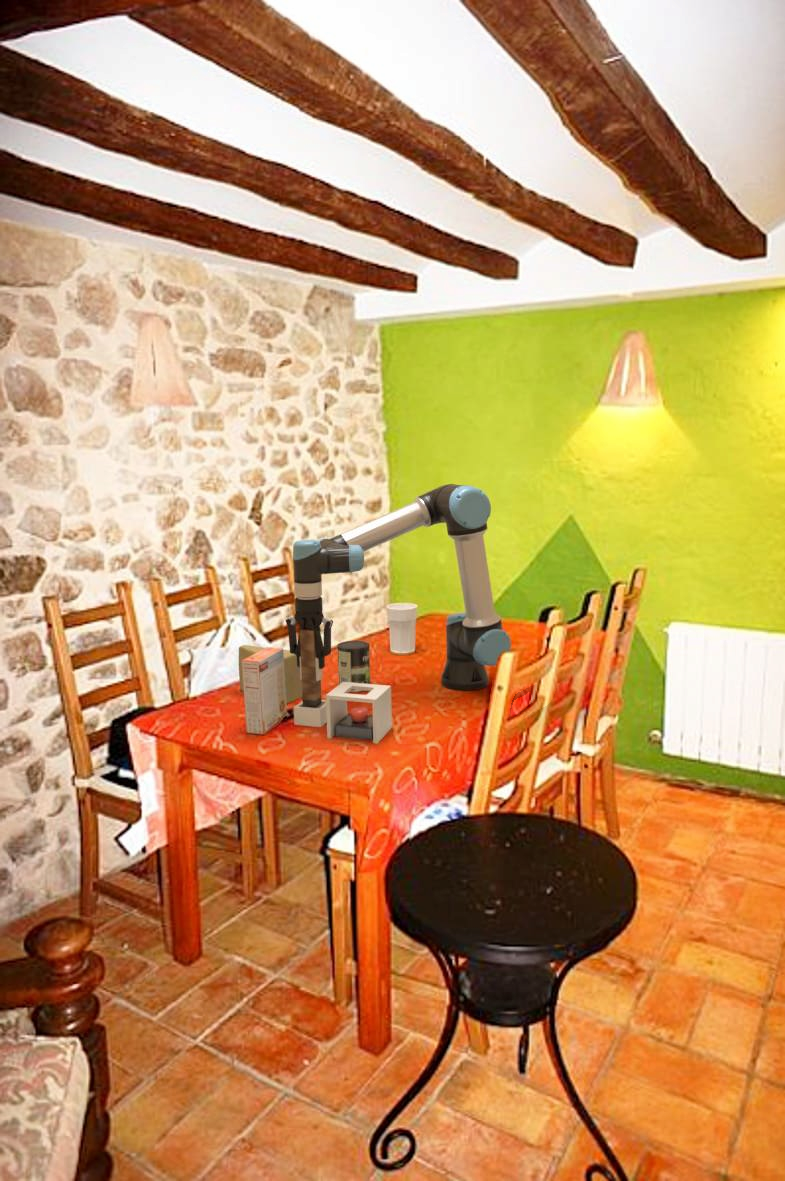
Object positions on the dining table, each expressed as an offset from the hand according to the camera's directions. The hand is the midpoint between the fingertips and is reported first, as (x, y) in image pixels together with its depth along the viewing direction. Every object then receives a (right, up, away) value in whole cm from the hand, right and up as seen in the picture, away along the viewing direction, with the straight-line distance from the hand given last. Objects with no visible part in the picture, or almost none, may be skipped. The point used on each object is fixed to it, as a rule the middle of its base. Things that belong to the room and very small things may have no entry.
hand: (311, 678), depth 224 cm
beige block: (-16, -8, +26) cm, 32 cm away
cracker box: (-12, -13, -1) cm, 18 cm away
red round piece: (+14, -13, -7) cm, 21 cm away
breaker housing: (+14, -14, -7) cm, 21 cm away
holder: (0, -12, +2) cm, 12 cm away
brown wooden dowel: (0, -8, +1) cm, 8 cm away
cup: (+26, +2, +72) cm, 77 cm away
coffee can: (+11, -6, +32) cm, 34 cm away
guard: (+14, -14, -7) cm, 21 cm away
